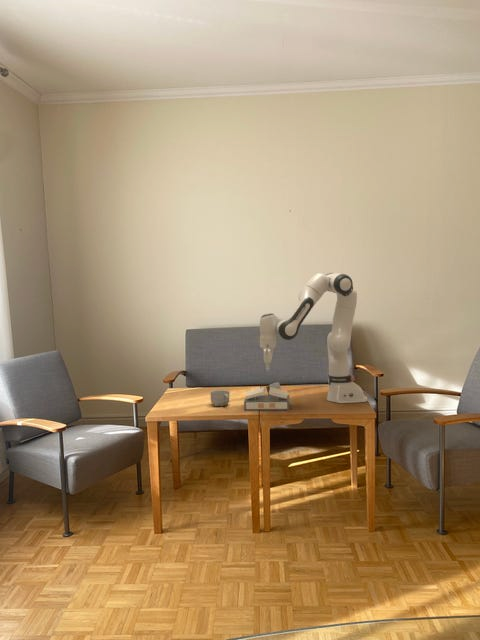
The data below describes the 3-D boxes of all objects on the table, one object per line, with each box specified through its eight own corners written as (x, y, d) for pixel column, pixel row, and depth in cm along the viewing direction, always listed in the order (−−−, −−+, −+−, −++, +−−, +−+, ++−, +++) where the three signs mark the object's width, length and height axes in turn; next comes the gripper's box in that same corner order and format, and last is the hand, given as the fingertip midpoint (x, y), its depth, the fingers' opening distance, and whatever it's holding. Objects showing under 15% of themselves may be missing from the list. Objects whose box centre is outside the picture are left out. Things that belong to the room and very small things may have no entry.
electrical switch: (274, 400, 315) (272, 384, 315) (266, 400, 318) (265, 384, 318) (283, 397, 322) (281, 381, 322) (276, 397, 326) (274, 381, 325)
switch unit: (289, 403, 306) (289, 391, 306) (289, 410, 292) (288, 397, 291) (246, 404, 309) (246, 392, 308) (244, 410, 295) (243, 398, 294)
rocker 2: (287, 394, 304) (287, 391, 304) (286, 398, 294) (287, 395, 293) (269, 389, 305) (270, 387, 305) (268, 394, 294) (269, 391, 294)
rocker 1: (265, 389, 306) (264, 387, 305) (264, 394, 295) (263, 391, 295) (248, 394, 307) (247, 391, 307) (246, 399, 296) (245, 396, 296)
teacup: (208, 404, 312) (207, 390, 312) (226, 402, 316) (225, 388, 315) (216, 409, 299) (215, 395, 298) (234, 407, 303) (234, 393, 302)
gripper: (272, 346, 287) (273, 372, 288) (274, 341, 307) (274, 365, 308) (260, 346, 288) (261, 372, 289) (263, 341, 308) (263, 365, 309)
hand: (268, 369), depth 299 cm, fingers open, 8 cm apart
